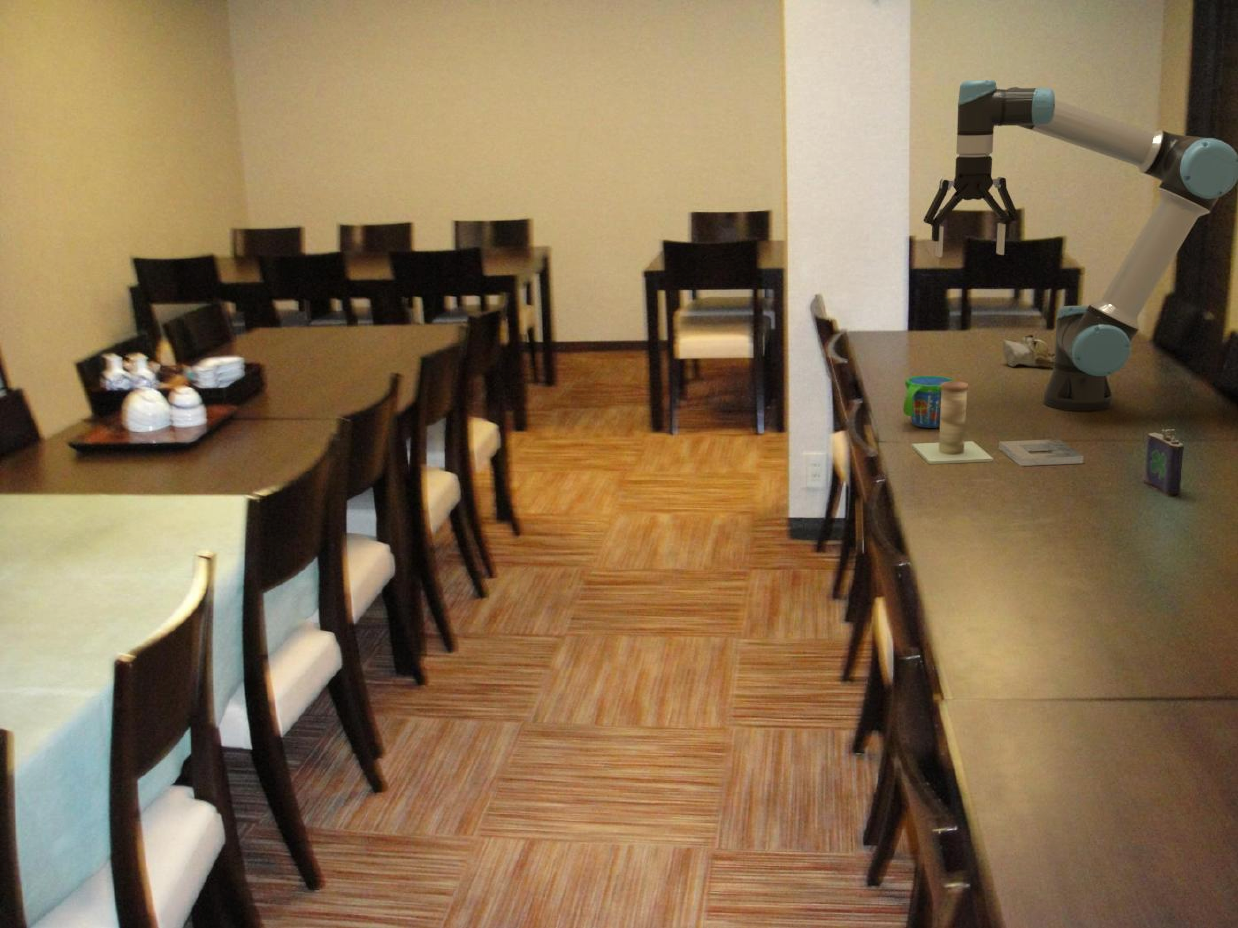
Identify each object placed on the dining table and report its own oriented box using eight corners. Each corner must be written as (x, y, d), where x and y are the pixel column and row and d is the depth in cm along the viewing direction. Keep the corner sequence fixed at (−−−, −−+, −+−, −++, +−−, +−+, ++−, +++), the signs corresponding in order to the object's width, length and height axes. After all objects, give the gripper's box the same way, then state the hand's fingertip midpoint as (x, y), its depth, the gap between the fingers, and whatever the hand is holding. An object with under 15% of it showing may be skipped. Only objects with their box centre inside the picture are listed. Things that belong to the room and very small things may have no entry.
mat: (972, 444, 270) (972, 441, 270) (993, 461, 257) (993, 458, 257) (911, 446, 269) (911, 443, 269) (929, 464, 257) (929, 461, 257)
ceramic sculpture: (1000, 329, 342) (1057, 332, 341) (996, 361, 345) (1053, 364, 344) (1008, 337, 332) (1067, 340, 331) (1003, 370, 335) (1062, 373, 334)
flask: (1140, 481, 243) (1146, 422, 239) (1155, 480, 243) (1161, 421, 240) (1169, 497, 233) (1175, 436, 230) (1185, 496, 234) (1192, 435, 230)
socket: (1058, 446, 267) (1058, 439, 266) (1082, 463, 255) (1083, 456, 254) (998, 448, 266) (999, 441, 266) (1020, 466, 254) (1021, 458, 254)
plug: (960, 446, 266) (963, 380, 262) (968, 454, 261) (971, 386, 257) (934, 447, 266) (937, 382, 262) (942, 455, 260) (945, 387, 256)
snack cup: (935, 414, 294) (937, 371, 291) (971, 423, 285) (973, 379, 282) (886, 425, 286) (887, 381, 283) (921, 435, 277) (923, 389, 274)
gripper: (1025, 152, 278) (1019, 250, 284) (911, 156, 277) (908, 255, 283) (1038, 154, 271) (1031, 255, 277) (921, 158, 270) (917, 259, 276)
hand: (969, 255), depth 280 cm, fingers open, 13 cm apart
